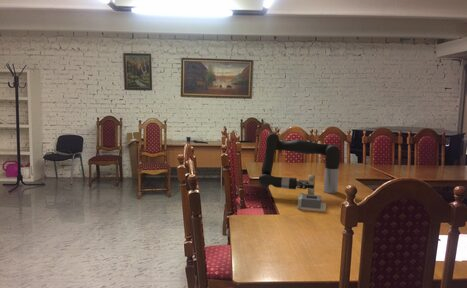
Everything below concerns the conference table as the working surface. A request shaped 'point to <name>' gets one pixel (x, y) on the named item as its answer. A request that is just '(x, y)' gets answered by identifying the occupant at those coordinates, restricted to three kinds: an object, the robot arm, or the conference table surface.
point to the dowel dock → (311, 202)
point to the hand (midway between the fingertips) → (314, 185)
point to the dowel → (311, 182)
